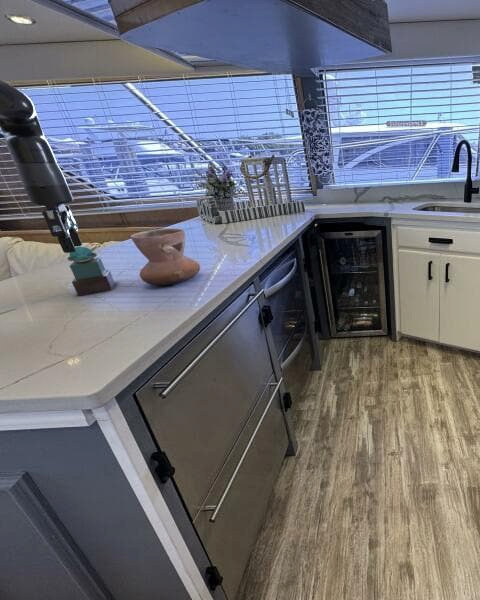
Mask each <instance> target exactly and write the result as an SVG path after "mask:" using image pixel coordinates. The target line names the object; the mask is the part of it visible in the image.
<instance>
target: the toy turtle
mask: <svg viewBox="0 0 480 600" xmlns="http://www.w3.org/2000/svg"><path fill="white" fill-rule="evenodd" d="M75 249H76V251H75V252H71V253H68V254H69V256H68V257H67V261H69V262H86V261H90V260H92V259H93V258H97V256H98V254H97V253H96V252H94V251H93V250H92V249H90V248H89V247H86V246H76V247H75Z"/></svg>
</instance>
